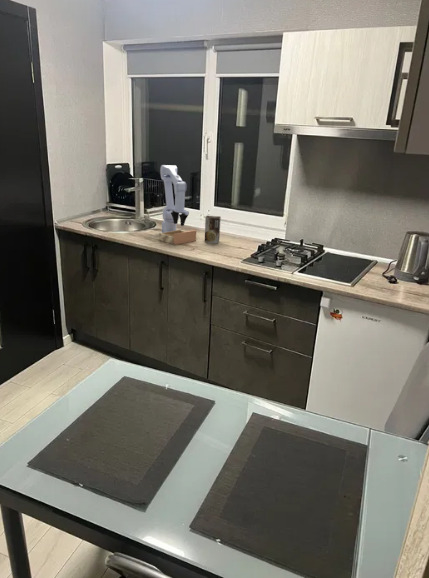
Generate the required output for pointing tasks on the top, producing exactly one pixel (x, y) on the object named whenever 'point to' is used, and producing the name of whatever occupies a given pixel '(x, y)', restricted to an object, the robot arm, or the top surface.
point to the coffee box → (212, 229)
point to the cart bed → (169, 236)
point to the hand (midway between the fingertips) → (179, 224)
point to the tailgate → (184, 237)
